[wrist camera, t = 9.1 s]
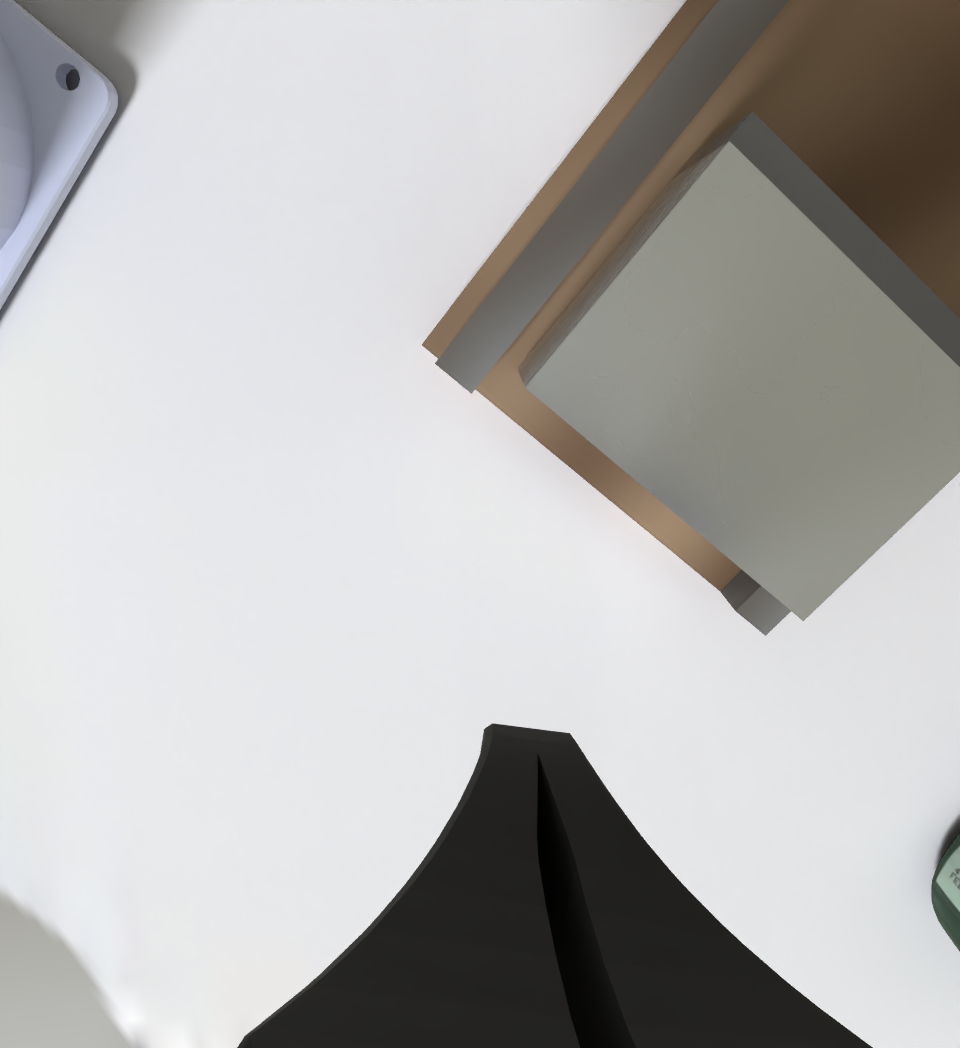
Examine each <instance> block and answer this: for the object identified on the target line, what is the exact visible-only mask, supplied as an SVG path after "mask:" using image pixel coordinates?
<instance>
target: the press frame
mask: <svg viewBox="0 0 960 1048" xmlns="http://www.w3.org/2000/svg"><path fill="white" fill-rule="evenodd" d="M752 111H753V112H754V113H755V114H756V115H757V116H758V117H759V118H760V119H761V120H762V121H763V122H764V123H765V124H766V125H767V126H768V127H769V128H770V129H771V130H772V131H773V132H774V133H775V134H776V135H777V136H778V137H779V138H780V139H781V140H782V141H783V142H784V143H785V144H786V145H787V146H788V147H789V148H790V149H791V150H792V151H793V152H794V153H795V154H796V155H797V156H798V157H799V158H800V159H801V160H802V161H803V162H804V163H805V164H806V165H807V166H808V167H809V168H810V169H811V170H812V171H813V172H814V173H815V174H816V175H817V176H818V177H819V178H820V179H821V180H822V181H823V182H824V183H825V184H826V185H827V186H828V187H829V188H830V189H831V190H832V191H833V192H834V193H835V194H836V195H837V196H838V197H839V198H840V199H841V200H842V201H843V202H844V203H845V204H846V205H847V206H848V207H849V208H850V209H851V210H852V211H853V212H854V213H855V214H856V215H857V216H858V217H859V218H860V219H861V220H862V221H863V222H864V223H865V224H866V225H867V226H868V227H869V228H870V229H871V230H872V231H873V232H874V233H875V234H876V235H877V236H878V237H879V238H880V239H881V240H882V241H883V242H884V243H885V244H886V245H887V246H888V247H889V248H890V249H891V250H892V251H893V252H894V253H895V254H896V255H897V256H898V257H899V258H900V259H901V260H902V261H903V262H904V263H905V264H906V265H907V266H908V267H909V268H910V269H911V270H912V271H913V272H914V273H915V274H916V275H917V276H918V277H919V278H920V279H921V280H922V281H923V282H924V283H925V284H926V285H927V286H928V287H929V288H930V289H931V290H932V291H933V292H934V293H935V294H936V295H937V296H938V297H939V298H940V299H941V300H942V301H943V302H944V303H945V304H946V305H947V306H948V307H949V308H950V309H951V310H952V311H953V312H954V313H955V314H956V315H957V316H958V317H959V318H960V0H687V1H686V2H685V3H684V5H683V6H682V7H681V9H680V10H679V11H678V12H677V14H676V15H675V16H674V18H673V19H672V20H671V22H670V23H669V24H668V25H667V27H666V28H665V29H664V31H663V32H662V33H661V35H660V36H659V37H658V38H657V40H656V41H655V42H654V44H653V45H652V46H651V48H650V49H649V50H648V51H647V53H646V54H645V55H644V57H643V58H642V59H641V61H640V62H639V63H638V64H637V66H636V67H635V68H634V70H633V71H632V72H631V74H630V75H629V76H628V77H627V79H626V80H625V81H624V83H623V84H622V85H621V87H620V88H619V89H618V90H617V92H616V93H615V94H614V96H613V97H612V98H611V100H610V101H609V102H608V103H607V105H606V106H605V107H604V109H603V110H602V111H601V113H600V114H599V115H598V116H597V118H596V119H595V120H594V122H593V123H592V124H591V126H590V127H589V128H588V129H587V131H586V132H585V133H584V135H583V136H582V137H581V139H580V140H579V141H578V142H577V144H576V145H575V146H574V148H573V149H572V150H571V152H570V153H569V154H568V155H567V157H566V158H565V159H564V161H563V162H562V163H561V164H560V166H559V167H558V168H557V170H556V171H555V172H554V174H553V175H552V176H551V177H550V179H549V180H548V181H547V183H546V184H545V185H544V187H543V188H542V189H541V190H540V192H539V193H538V194H537V196H536V197H535V198H534V200H533V201H532V202H531V203H530V205H529V206H528V207H527V209H526V210H525V211H524V213H523V214H522V215H521V216H520V218H519V219H518V220H517V222H516V223H515V224H514V226H513V227H512V228H511V229H510V231H509V232H508V233H507V235H506V236H505V237H504V239H503V240H502V241H501V242H500V244H499V245H498V246H497V248H496V249H495V250H494V252H493V253H492V254H491V255H490V257H489V258H488V259H487V261H486V262H485V263H484V265H483V266H482V267H481V268H480V270H479V271H478V272H477V274H476V275H475V276H474V278H473V279H472V280H471V281H470V283H469V284H468V285H467V287H466V288H465V289H464V291H463V292H462V293H461V294H460V296H459V297H458V298H457V300H456V301H455V302H454V304H453V305H452V306H451V307H450V309H449V310H448V311H447V313H446V314H445V315H444V317H443V318H442V319H441V320H440V322H439V323H438V324H437V326H436V327H435V328H434V330H433V331H432V332H431V333H430V335H429V336H428V337H427V339H426V340H425V341H424V342H423V344H422V346H424V347H425V348H426V349H427V350H428V351H430V352H431V353H432V354H433V355H434V356H436V357H437V358H438V360H437V362H436V363H435V364H436V365H437V366H439V367H440V368H441V369H442V370H443V371H445V372H446V373H447V374H448V375H450V376H451V377H452V378H453V379H454V380H456V381H457V382H458V383H459V384H460V385H462V386H463V387H464V388H465V389H467V390H468V391H469V392H470V393H472V392H473V391H474V390H475V389H476V390H477V391H478V392H479V393H481V394H482V395H483V396H484V397H485V398H487V399H488V400H489V401H490V402H491V403H493V404H494V405H495V406H496V407H497V408H499V409H500V410H501V411H502V412H504V413H505V414H506V415H507V416H508V417H510V418H511V419H512V420H513V421H514V422H516V423H517V424H518V425H519V426H521V427H522V428H523V429H524V430H525V431H527V432H528V433H529V434H530V435H531V436H533V437H534V438H535V439H536V440H537V441H539V442H540V443H541V444H542V445H544V446H545V447H546V448H547V449H548V450H550V451H551V452H552V453H553V454H554V455H556V456H557V457H558V458H559V459H560V460H562V461H563V462H564V463H565V464H567V465H568V466H569V467H570V468H571V469H573V470H574V471H575V472H576V473H577V474H579V475H580V476H581V477H582V478H584V479H585V480H586V481H587V482H588V483H590V484H591V485H592V486H593V487H594V488H596V489H597V490H598V491H599V492H600V493H602V494H603V495H604V496H605V497H607V498H608V499H609V500H610V501H611V502H613V503H614V504H615V505H616V506H617V507H619V508H620V509H621V510H622V511H623V512H625V513H626V514H627V515H628V516H630V517H631V518H632V519H633V520H634V521H636V522H637V523H638V524H639V525H640V526H642V527H643V528H644V529H645V530H647V531H648V532H649V533H650V534H651V535H653V536H654V537H655V538H656V539H657V540H659V541H660V542H661V543H662V544H663V545H665V546H666V547H667V548H668V549H670V550H671V551H672V552H673V553H674V554H676V555H677V556H678V557H679V558H680V559H682V560H683V561H684V562H685V563H687V564H688V565H689V566H690V567H691V568H693V569H694V570H695V571H696V572H697V573H699V574H700V575H701V576H702V577H703V578H705V579H706V580H707V581H708V582H710V583H711V584H712V585H713V586H714V587H716V588H717V589H718V590H719V591H720V592H721V593H722V594H723V596H724V597H725V598H726V599H727V601H728V602H729V603H730V604H731V606H732V607H733V608H734V610H735V611H736V612H737V613H739V614H740V615H741V616H742V617H744V618H745V619H746V620H747V621H748V622H750V623H751V624H752V625H753V626H755V627H756V628H757V629H758V630H759V631H761V632H762V633H763V634H764V635H765V636H766V635H767V634H768V633H769V632H770V631H771V630H772V629H773V628H774V627H775V626H776V625H777V624H778V623H779V622H780V621H781V620H782V619H783V618H784V617H785V616H786V615H788V614H789V613H790V612H791V610H789V609H788V608H787V607H786V606H785V605H784V604H782V603H781V602H780V601H779V600H778V599H776V598H775V597H774V596H773V595H772V594H770V593H769V592H768V591H767V590H766V589H764V588H763V587H762V586H761V585H760V584H759V583H757V582H756V581H755V580H754V579H753V578H751V577H750V576H749V575H748V574H747V573H745V572H744V571H743V570H742V569H741V568H739V567H738V566H737V565H736V564H735V563H733V562H732V561H731V560H730V559H729V558H728V557H726V556H725V555H724V554H723V553H722V552H720V551H719V550H718V549H717V548H716V547H714V546H713V545H712V544H711V543H710V542H708V541H707V540H706V539H705V538H704V537H702V536H701V535H700V534H699V533H698V532H697V531H695V530H694V529H693V528H692V527H691V526H689V525H688V524H687V523H686V522H685V521H683V520H682V519H681V518H680V517H679V516H677V515H676V514H675V513H674V512H673V511H672V510H670V509H669V508H668V507H667V506H666V505H664V504H663V503H662V502H661V501H660V500H658V499H657V498H656V497H655V496H654V495H652V494H651V493H650V492H649V491H648V490H646V489H645V488H644V487H643V486H642V485H641V484H639V483H638V482H637V481H636V480H635V479H633V478H632V477H631V476H630V475H629V474H627V473H626V472H625V471H624V470H623V469H621V468H620V467H619V466H618V465H617V464H615V463H614V462H613V461H612V460H611V459H610V458H608V457H607V456H606V455H605V454H604V453H602V452H601V451H600V450H599V449H598V448H596V447H595V446H594V445H593V444H592V443H590V442H589V441H588V440H587V439H586V438H585V437H583V436H582V435H581V434H580V433H579V432H577V431H576V430H575V429H574V428H573V427H571V426H570V425H569V424H568V423H567V422H565V421H564V420H563V419H562V418H561V417H559V416H558V415H557V414H556V413H555V412H554V411H552V410H551V409H550V408H549V407H548V406H546V405H545V404H544V403H543V402H542V401H540V400H539V399H538V398H537V397H536V396H534V395H533V394H532V393H531V392H530V391H528V390H527V389H526V388H525V386H524V383H523V381H522V378H521V376H520V373H519V370H518V367H519V366H520V365H521V363H522V362H523V361H524V360H525V359H526V357H527V356H528V355H529V354H530V352H531V351H532V350H533V349H534V347H535V346H536V345H537V344H538V343H539V341H540V340H541V339H542V338H543V336H544V335H545V334H546V333H547V332H548V330H549V329H550V328H551V327H552V325H553V324H554V323H555V322H556V321H557V319H558V318H559V317H560V316H561V314H562V313H563V312H564V311H565V310H566V308H567V307H568V306H569V305H570V303H571V302H572V301H573V300H574V299H575V297H576V296H577V295H578V294H579V292H580V291H581V290H582V289H583V288H584V286H585V285H586V284H587V283H588V281H589V280H590V279H591V278H592V277H593V275H594V274H595V273H596V272H597V270H598V269H599V268H600V267H601V266H602V264H603V263H604V262H605V261H606V259H607V258H608V257H609V256H610V255H611V253H612V252H613V251H614V250H615V248H616V247H617V246H618V245H619V244H620V242H621V241H622V240H623V239H624V237H625V236H626V235H627V234H628V233H629V231H630V230H631V229H632V228H633V226H634V225H635V224H636V223H637V222H638V220H639V219H640V218H641V217H642V215H643V214H644V213H645V212H646V210H647V209H648V208H649V207H650V206H651V204H652V203H653V202H654V201H655V199H656V198H657V197H658V196H659V195H660V193H661V192H662V191H663V190H664V188H665V187H666V186H667V185H668V184H669V182H670V181H671V180H672V179H673V178H675V176H676V175H677V174H678V173H679V171H680V170H681V169H682V168H683V167H684V165H685V164H686V163H687V162H688V160H689V159H690V158H691V157H692V156H693V154H694V153H695V152H696V151H698V150H699V149H701V148H702V147H703V146H705V145H706V144H708V143H709V142H710V141H712V140H713V139H714V138H716V137H717V136H719V135H720V134H721V133H723V132H724V131H726V130H727V129H728V128H730V127H731V126H732V125H734V124H735V123H737V122H738V121H739V120H741V119H742V118H744V117H745V116H746V115H748V114H749V113H750V112H752Z"/></svg>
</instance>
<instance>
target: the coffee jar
mask: <svg viewBox="0 0 960 1048" xmlns="http://www.w3.org/2000/svg"><path fill="white" fill-rule="evenodd" d="M932 904H933V908H934V911H935V913H936V916H937V918H938V921H939V922H940V924H941V926H942V927H943V929H944V930H945V931H946V933H947V934H948V936H949V937H950V939H951V940H952V941H953V943H954V944H955V946H956V947H957V948H958V950H959V951H960V834H959V835H958V837H957V838H956V839H955V841H954V842H953V843H952V845H951V846H950V847H949V848H948V850H947V851H946V853H945V854H944V856H943V857H942V859H941V861H940V862H939V864H938V866H937V869H936V871H935V874H934V877H933V880H932Z"/></svg>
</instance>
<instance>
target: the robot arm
mask: <svg viewBox="0 0 960 1048" xmlns="http://www.w3.org/2000/svg"><path fill="white" fill-rule="evenodd" d="M71 69H77V71H78V72H79V77H80V82H79V86H78V87H77V88H76V89H75V90H71V91H70V90H69V89H68V88H67V84H66V76H67V73H68V72H69V71H70V70H71ZM117 107H118V94H117V92H116V89H115V87H114V85H113V84H112V83H111V82H110V80H109V79H108V78H107V77H106V76H104V75H103V74H102V73H101V72H100V71H98V70H97V69H96V68H95V67H94V66H92V65H91V64H90V63H89V62H88V61H86V60H85V59H84V58H83V57H82V56H80V55H79V54H78V53H77V52H75V51H74V50H73V49H72V48H71V47H69V46H68V45H67V44H66V43H65V42H63V41H62V40H61V39H60V38H59V37H57V36H56V35H55V34H54V33H53V32H51V31H50V30H49V29H48V28H46V27H45V26H44V25H43V24H42V23H40V22H39V21H38V20H37V19H36V18H34V17H33V16H32V15H31V14H30V13H28V12H27V11H26V10H25V9H24V8H22V7H21V6H20V5H19V4H17V3H16V2H15V1H14V0H0V309H1V308H2V306H3V304H4V303H5V301H6V299H7V297H8V296H9V294H10V292H11V291H12V289H13V287H14V285H15V284H16V282H17V280H18V279H19V277H20V275H21V274H22V272H23V270H24V268H25V267H26V265H27V263H28V262H29V260H30V258H31V256H32V255H33V253H34V251H35V250H36V248H37V246H38V245H39V243H40V241H41V239H42V238H43V236H44V234H45V233H46V231H47V229H48V227H49V226H50V224H51V222H52V221H53V219H54V217H55V215H56V214H57V212H58V210H59V209H60V207H61V205H62V204H63V202H64V200H65V198H66V197H67V195H68V193H69V192H70V190H71V188H72V186H73V185H74V183H75V181H76V180H77V178H78V176H79V175H80V173H81V171H82V169H83V168H84V166H85V164H86V163H87V161H88V159H89V157H90V156H91V154H92V152H93V151H94V149H95V147H96V145H97V144H98V142H99V140H100V139H101V137H102V135H103V134H104V132H105V130H106V128H107V127H108V125H109V123H110V122H111V120H112V118H113V116H114V115H115V113H116V110H117ZM237 1048H873V1047H871V1046H870V1045H868V1044H867V1043H866V1042H864V1041H863V1040H862V1039H860V1038H859V1037H858V1036H856V1035H855V1034H853V1033H852V1032H851V1031H849V1030H848V1029H847V1028H845V1027H844V1026H843V1025H841V1024H840V1023H839V1022H837V1021H836V1020H835V1019H833V1018H832V1017H831V1016H829V1015H828V1014H827V1013H825V1012H824V1011H823V1010H821V1009H820V1008H819V1007H817V1006H816V1005H815V1004H814V1003H812V1002H811V1001H810V1000H809V999H807V998H806V997H805V996H804V995H802V994H801V993H800V992H799V991H797V990H796V989H795V988H794V987H792V986H791V985H790V984H789V983H787V982H786V981H785V980H784V979H783V978H782V977H780V976H779V975H778V974H777V973H776V972H775V971H773V970H772V969H771V968H770V967H769V966H768V965H767V964H765V963H764V962H763V961H762V960H761V959H760V958H759V957H757V956H756V955H755V954H754V953H753V952H752V951H750V950H749V949H748V948H747V947H746V946H745V945H744V944H742V943H741V942H740V941H739V940H738V939H737V938H736V937H735V936H734V935H733V934H732V933H731V932H730V931H729V930H727V929H726V928H725V927H724V926H723V925H722V924H721V923H720V922H719V921H718V920H717V919H716V918H715V917H714V916H713V915H712V914H711V913H710V912H709V911H708V910H707V909H706V908H705V907H704V906H703V905H702V904H701V903H700V902H699V901H698V900H697V899H696V898H695V897H694V896H693V895H692V894H691V893H690V892H689V891H688V889H687V888H686V887H685V886H684V885H683V884H682V883H681V882H680V881H679V880H678V879H677V878H676V876H675V875H674V874H673V873H672V872H671V871H670V870H669V869H668V867H667V866H666V865H665V864H664V863H663V861H662V860H661V859H660V858H659V857H658V855H657V854H656V853H655V852H654V851H653V850H652V848H651V847H650V846H649V845H648V844H647V842H646V841H645V840H644V839H643V837H642V836H641V835H640V833H639V832H638V831H637V830H636V828H635V827H634V825H633V824H632V823H631V821H630V820H629V819H628V817H627V816H626V815H625V813H624V812H623V811H622V809H621V808H620V807H619V805H618V804H617V802H616V801H615V800H614V798H613V797H612V795H611V794H610V792H609V791H608V790H607V788H606V787H605V785H604V784H603V782H602V781H601V779H600V778H599V776H598V775H597V773H596V772H595V770H594V769H593V767H592V766H591V764H590V763H589V761H588V760H587V758H586V757H585V755H584V753H583V752H582V750H581V749H580V747H579V746H578V744H577V743H576V741H575V740H574V738H573V737H572V736H571V734H570V733H563V732H555V731H547V730H539V729H531V728H523V727H516V726H508V725H500V724H491V725H490V726H488V727H487V728H485V729H484V734H483V740H482V747H481V753H480V756H479V759H478V762H477V764H476V767H475V770H474V772H473V775H472V777H471V779H470V781H469V783H468V785H467V787H466V789H465V791H464V793H463V795H462V798H461V800H460V802H459V803H458V805H457V807H456V809H455V811H454V812H453V814H452V816H451V817H450V819H449V821H448V822H447V824H446V826H445V827H444V829H443V831H442V832H441V834H440V836H439V837H438V839H437V841H436V842H435V844H434V845H433V847H432V848H431V850H430V851H429V853H428V854H427V855H426V857H425V858H424V860H423V861H422V863H421V864H420V865H419V867H418V868H417V869H416V871H415V872H414V873H413V875H412V876H411V877H410V879H409V880H408V881H407V883H406V884H405V885H404V886H403V888H402V889H401V890H400V891H399V892H398V893H397V895H396V896H395V897H394V898H393V899H392V901H391V902H390V903H389V904H388V905H387V907H386V908H385V909H384V910H383V911H382V912H381V914H380V915H379V916H378V917H377V918H376V919H375V920H374V921H373V922H372V924H371V925H370V926H369V927H368V928H367V929H366V930H365V931H364V932H363V933H362V934H361V935H360V936H359V937H358V938H357V939H356V940H355V941H354V942H353V943H352V944H351V945H350V946H349V947H348V948H347V949H346V950H345V951H344V952H343V953H342V954H341V955H340V956H339V957H338V958H336V959H335V960H334V961H333V962H332V963H331V964H330V965H329V966H328V967H327V968H326V969H325V970H324V971H323V972H322V973H321V974H320V975H319V976H318V977H317V978H315V979H314V980H313V981H312V982H311V983H310V984H309V985H308V986H306V987H305V988H304V989H303V990H302V991H300V992H299V993H298V994H297V995H295V996H294V997H293V998H292V999H290V1000H289V1001H288V1002H287V1003H286V1004H284V1005H283V1006H282V1007H281V1008H279V1009H278V1010H277V1011H276V1012H274V1013H273V1014H272V1015H271V1016H269V1017H268V1018H267V1019H266V1020H264V1021H263V1022H262V1023H261V1024H260V1025H258V1026H257V1027H256V1028H255V1029H253V1030H252V1031H251V1032H249V1033H248V1034H247V1035H246V1036H245V1037H244V1038H243V1040H242V1041H241V1043H240V1044H239V1046H238V1047H237Z"/></svg>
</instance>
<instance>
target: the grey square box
mask: <svg viewBox="0 0 960 1048" xmlns="http://www.w3.org/2000/svg"><path fill="white" fill-rule="evenodd" d="M518 370H519V373H520V376H521V378H522V381H523V383H524V386H525V388H526V389H527V390H528V391H530V392H531V393H532V394H533V395H534V396H536V397H537V398H538V399H539V400H540V401H542V402H543V403H544V404H545V405H546V406H548V407H549V408H550V409H551V410H552V411H554V412H555V413H556V414H557V415H558V416H559V417H561V418H562V419H563V420H564V421H565V422H567V423H568V424H569V425H570V426H571V427H573V428H574V429H575V430H576V431H577V432H579V433H580V434H581V435H582V436H583V437H585V438H586V439H587V440H588V441H589V442H590V443H592V444H593V445H594V446H595V447H596V448H598V449H599V450H600V451H601V452H602V453H604V454H605V455H606V456H607V457H608V458H610V459H611V460H612V461H613V462H614V463H615V464H617V465H618V466H619V467H620V468H621V469H623V470H624V471H625V472H626V473H627V474H629V475H630V476H631V477H632V478H633V479H635V480H636V481H637V482H638V483H639V484H641V485H642V486H643V487H644V488H645V489H646V490H648V491H649V492H650V493H651V494H652V495H654V496H655V497H656V498H657V499H658V500H660V501H661V502H662V503H663V504H664V505H666V506H667V507H668V508H669V509H670V510H672V511H673V512H674V513H675V514H676V515H677V516H679V517H680V518H681V519H682V520H683V521H685V522H686V523H687V524H688V525H689V526H691V527H692V528H693V529H694V530H695V531H697V532H698V533H699V534H700V535H701V536H702V537H704V538H705V539H706V540H707V541H708V542H710V543H711V544H712V545H713V546H714V547H716V548H717V549H718V550H719V551H720V552H722V553H723V554H724V555H725V556H726V557H728V558H729V559H730V560H731V561H732V562H733V563H735V564H736V565H737V566H738V567H739V568H741V569H742V570H743V571H744V572H745V573H747V574H748V575H749V576H750V577H751V578H753V579H754V580H755V581H756V582H757V583H759V584H760V585H761V586H762V587H763V588H764V589H766V590H767V591H768V592H769V593H770V594H772V595H773V596H774V597H775V598H776V599H778V600H779V601H780V602H781V603H782V604H784V605H785V606H786V607H787V608H788V609H789V610H791V611H792V612H793V613H794V614H795V615H797V616H798V617H799V618H800V619H801V620H803V621H804V620H805V619H806V618H807V617H808V616H809V615H810V614H811V613H812V612H813V611H814V610H815V609H816V608H817V607H819V606H820V605H821V604H822V603H823V602H824V601H825V600H826V599H827V598H828V597H829V596H830V595H831V594H832V593H833V592H834V591H835V590H836V589H837V588H838V587H840V586H841V585H842V584H843V583H844V582H845V581H846V580H847V579H848V578H849V577H850V576H851V575H852V574H853V573H854V572H855V571H856V570H857V569H858V568H859V567H860V566H862V565H863V564H864V563H865V562H866V561H867V560H868V559H869V558H870V557H871V556H872V555H873V554H874V553H875V552H876V551H877V550H878V549H879V548H880V547H881V546H883V545H884V544H885V543H886V542H887V541H888V540H889V539H890V538H891V537H892V536H893V535H894V534H895V533H896V532H897V531H898V530H899V529H900V528H901V527H902V526H904V525H905V524H906V523H907V522H908V521H909V520H910V519H911V518H912V517H913V516H914V515H915V514H916V513H917V512H918V511H919V510H920V509H921V508H922V507H923V506H924V505H926V504H927V503H928V502H929V501H930V500H931V499H932V498H933V497H934V496H935V495H936V494H937V493H938V492H939V491H940V490H941V489H942V488H943V487H944V486H945V485H947V484H948V483H949V482H950V481H951V480H952V479H953V478H954V477H955V476H956V475H957V474H958V473H959V472H960V318H959V317H958V316H957V315H956V314H955V313H954V312H953V311H952V310H951V309H950V308H949V307H948V306H947V305H946V304H945V303H944V302H943V301H942V300H941V299H940V298H939V297H938V296H937V295H936V294H935V293H934V292H933V291H932V290H931V289H930V288H929V287H928V286H927V285H926V284H925V283H924V282H923V281H922V280H921V279H920V278H919V277H918V276H917V275H916V274H915V273H914V272H913V271H912V270H911V269H910V268H909V267H908V266H907V265H906V264H905V263H904V262H903V261H902V260H901V259H900V258H899V257H898V256H897V255H896V254H895V253H894V252H893V251H892V250H891V249H890V248H889V247H888V246H887V245H886V244H885V243H884V242H883V241H882V240H881V239H880V238H879V237H878V236H877V235H876V234H875V233H874V232H873V231H872V230H871V229H870V228H869V227H868V226H867V225H866V224H865V223H864V222H863V221H862V220H861V219H860V218H859V217H858V216H857V215H856V214H855V213H854V212H853V211H852V210H851V209H850V208H849V207H848V206H847V205H846V204H845V203H844V202H843V201H842V200H841V199H840V198H839V197H838V196H837V195H836V194H835V193H834V192H833V191H832V190H831V189H830V188H829V187H828V186H827V185H826V184H825V183H824V182H823V181H822V180H821V179H820V178H819V177H818V176H817V175H816V174H815V173H814V172H813V171H812V170H811V169H810V168H809V167H808V166H807V165H806V164H805V163H804V162H803V161H802V160H801V159H800V158H799V157H798V156H797V155H796V154H795V153H794V152H793V151H792V150H791V149H790V148H789V147H788V146H787V145H786V144H785V143H784V142H783V141H782V140H781V139H780V138H779V137H778V136H777V135H776V134H775V133H774V132H773V131H772V130H771V129H770V128H769V127H768V126H767V125H766V124H765V123H764V122H763V121H762V120H761V119H760V118H759V117H758V116H757V115H756V114H755V113H754V112H753V111H752V112H750V113H749V114H748V115H746V116H745V117H744V118H742V119H741V120H739V121H738V122H737V123H735V124H734V125H732V126H731V127H730V128H728V129H727V130H726V131H724V132H723V133H721V134H720V135H719V136H717V137H716V138H714V139H713V140H712V141H710V142H709V143H708V144H706V145H705V146H703V147H702V148H701V149H699V150H698V151H696V152H695V153H694V154H693V156H692V157H691V158H690V159H689V160H688V162H687V163H686V164H685V165H684V167H683V168H682V169H681V170H680V171H679V173H678V174H677V175H676V176H675V178H673V179H672V180H671V181H670V182H669V184H668V185H667V186H666V187H665V188H664V190H663V191H662V192H661V193H660V195H659V196H658V197H657V198H656V199H655V201H654V202H653V203H652V204H651V206H650V207H649V208H648V209H647V210H646V212H645V213H644V214H643V215H642V217H641V218H640V219H639V220H638V222H637V223H636V224H635V225H634V226H633V228H632V229H631V230H630V231H629V233H628V234H627V235H626V236H625V237H624V239H623V240H622V241H621V242H620V244H619V245H618V246H617V247H616V248H615V250H614V251H613V252H612V253H611V255H610V256H609V257H608V258H607V259H606V261H605V262H604V263H603V264H602V266H601V267H600V268H599V269H598V270H597V272H596V273H595V274H594V275H593V277H592V278H591V279H590V280H589V281H588V283H587V284H586V285H585V286H584V288H583V289H582V290H581V291H580V292H579V294H578V295H577V296H576V297H575V299H574V300H573V301H572V302H571V303H570V305H569V306H568V307H567V308H566V310H565V311H564V312H563V313H562V314H561V316H560V317H559V318H558V319H557V321H556V322H555V323H554V324H553V325H552V327H551V328H550V329H549V330H548V332H547V333H546V334H545V335H544V336H543V338H542V339H541V340H540V341H539V343H538V344H537V345H536V346H535V347H534V349H533V350H532V351H531V352H530V354H529V355H528V356H527V357H526V359H525V360H524V361H523V362H522V363H521V365H520V366H519V367H518Z"/></svg>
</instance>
